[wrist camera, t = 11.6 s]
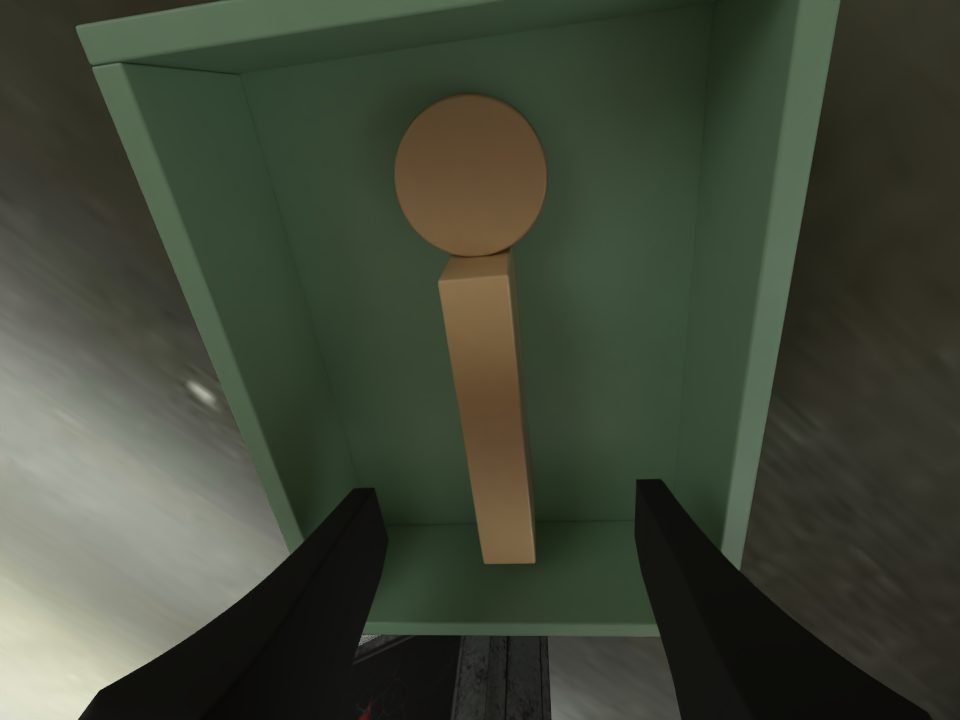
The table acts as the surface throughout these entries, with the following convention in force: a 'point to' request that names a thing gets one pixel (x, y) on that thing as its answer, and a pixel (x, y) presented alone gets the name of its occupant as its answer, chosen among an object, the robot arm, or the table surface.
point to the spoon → (481, 290)
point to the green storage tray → (537, 259)
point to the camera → (449, 678)
